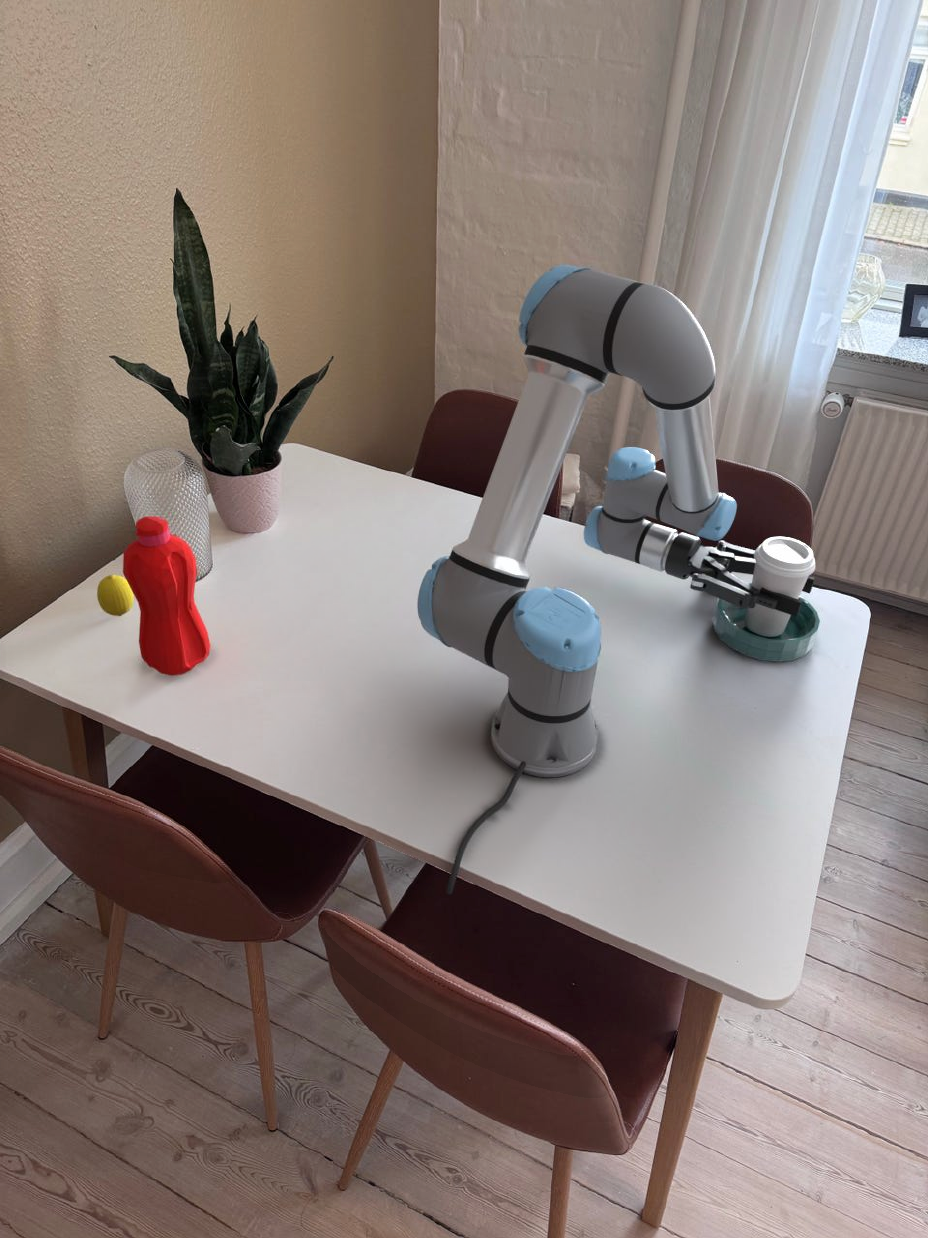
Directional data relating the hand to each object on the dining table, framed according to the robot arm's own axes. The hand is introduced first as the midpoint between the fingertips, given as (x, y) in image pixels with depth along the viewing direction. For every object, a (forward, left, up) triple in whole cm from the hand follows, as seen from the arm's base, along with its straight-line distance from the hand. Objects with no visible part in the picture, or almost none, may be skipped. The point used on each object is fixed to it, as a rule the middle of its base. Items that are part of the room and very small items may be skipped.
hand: (805, 597), depth 149 cm
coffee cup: (-1, +5, -8) cm, 10 cm away
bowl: (-1, +5, -10) cm, 11 cm away
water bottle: (-72, +69, -10) cm, 100 cm away
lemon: (-73, +85, -10) cm, 112 cm away
